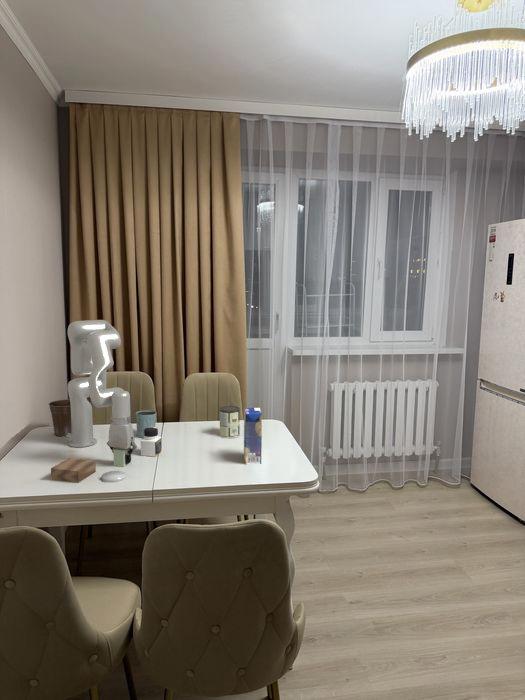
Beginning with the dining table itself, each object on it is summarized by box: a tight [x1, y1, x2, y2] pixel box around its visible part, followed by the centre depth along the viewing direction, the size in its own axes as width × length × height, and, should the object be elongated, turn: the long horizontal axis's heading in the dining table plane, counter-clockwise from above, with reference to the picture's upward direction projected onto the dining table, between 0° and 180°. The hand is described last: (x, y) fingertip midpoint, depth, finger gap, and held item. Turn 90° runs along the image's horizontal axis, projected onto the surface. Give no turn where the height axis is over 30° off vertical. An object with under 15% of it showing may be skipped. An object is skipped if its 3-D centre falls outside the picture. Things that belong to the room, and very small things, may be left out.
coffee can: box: [219, 405, 241, 439], centre depth 259 cm, size 10×10×14 cm
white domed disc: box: [101, 470, 127, 483], centre depth 203 cm, size 9×9×2 cm
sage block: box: [113, 448, 132, 468], centre depth 217 cm, size 5×5×7 cm
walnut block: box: [50, 457, 97, 484], centre depth 204 cm, size 12×12×5 cm
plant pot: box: [48, 398, 72, 437], centre depth 259 cm, size 16×16×16 cm
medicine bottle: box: [140, 426, 163, 458], centre depth 230 cm, size 7×7×12 cm
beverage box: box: [243, 407, 263, 465], centre depth 223 cm, size 7×11×22 cm, turn 6°
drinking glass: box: [135, 409, 157, 439], centre depth 257 cm, size 10×10×12 cm
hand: (122, 461), depth 217 cm, fingers closed on sage block, 5 cm apart
